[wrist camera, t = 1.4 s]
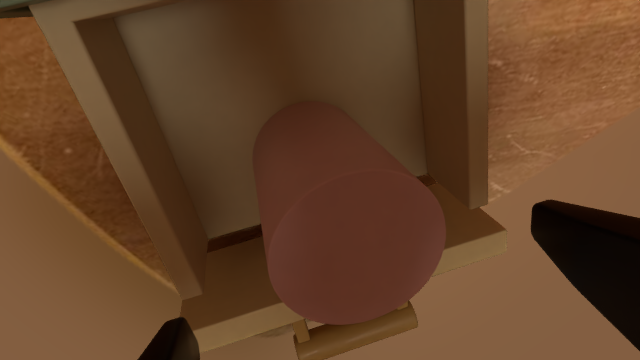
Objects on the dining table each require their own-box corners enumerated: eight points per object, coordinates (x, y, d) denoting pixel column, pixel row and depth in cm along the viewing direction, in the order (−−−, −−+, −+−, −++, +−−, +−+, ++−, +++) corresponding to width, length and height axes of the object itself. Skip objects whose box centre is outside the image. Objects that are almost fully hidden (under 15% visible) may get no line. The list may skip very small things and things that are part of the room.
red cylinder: (371, 189, 17) (450, 293, 11) (269, 219, 17) (293, 347, 10) (353, 87, 15) (442, 145, 9) (236, 118, 14) (242, 203, 8)
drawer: (451, 267, 22) (504, 330, 18) (228, 340, 20) (227, 428, 16) (430, -80, 14) (518, -118, 10) (66, 2, 13) (-16, 0, 8)
